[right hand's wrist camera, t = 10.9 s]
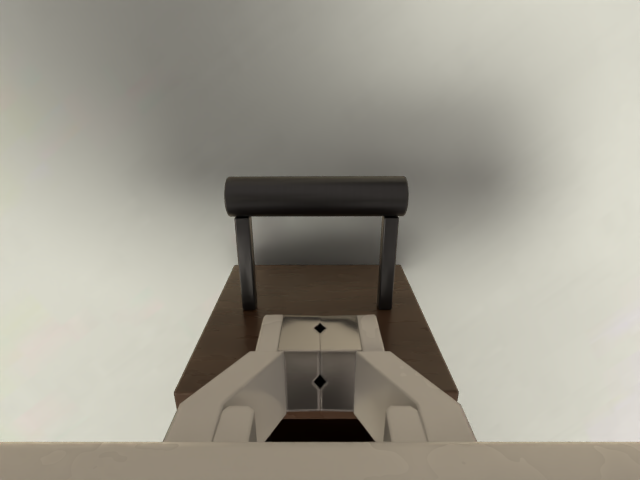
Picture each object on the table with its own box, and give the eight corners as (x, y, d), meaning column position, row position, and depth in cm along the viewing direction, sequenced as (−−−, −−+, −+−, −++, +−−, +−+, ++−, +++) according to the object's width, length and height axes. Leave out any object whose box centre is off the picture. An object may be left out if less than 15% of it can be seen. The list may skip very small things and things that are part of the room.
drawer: (224, 157, 19) (140, 218, 10) (410, 157, 19) (489, 218, 10) (254, 486, 28) (224, 674, 19) (382, 486, 28) (412, 674, 19)
